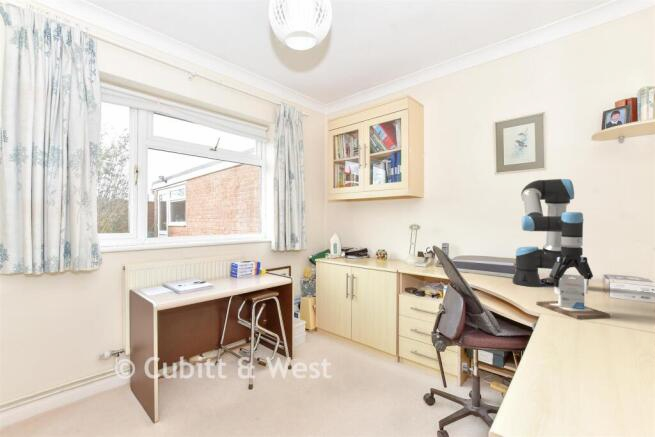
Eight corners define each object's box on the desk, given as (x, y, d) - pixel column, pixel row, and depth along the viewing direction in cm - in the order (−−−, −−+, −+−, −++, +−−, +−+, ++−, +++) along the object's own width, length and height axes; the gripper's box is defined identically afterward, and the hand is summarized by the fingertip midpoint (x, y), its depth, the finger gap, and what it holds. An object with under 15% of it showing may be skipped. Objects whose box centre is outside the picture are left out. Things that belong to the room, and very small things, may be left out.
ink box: (581, 306, 135) (582, 274, 135) (584, 309, 131) (585, 275, 130) (557, 303, 139) (558, 272, 139) (560, 306, 135) (560, 274, 134)
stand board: (536, 304, 143) (536, 301, 143) (565, 303, 146) (565, 299, 146) (577, 319, 124) (577, 314, 124) (609, 317, 126) (609, 313, 126)
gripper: (554, 247, 129) (554, 296, 129) (604, 247, 133) (603, 294, 133) (540, 245, 136) (539, 292, 137) (587, 245, 140) (586, 290, 140)
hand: (570, 293), depth 135 cm, fingers open, 13 cm apart
